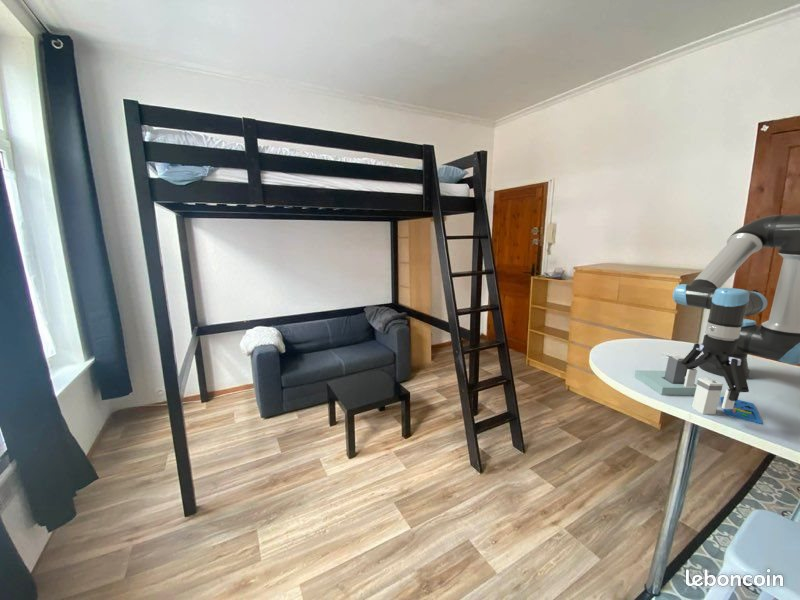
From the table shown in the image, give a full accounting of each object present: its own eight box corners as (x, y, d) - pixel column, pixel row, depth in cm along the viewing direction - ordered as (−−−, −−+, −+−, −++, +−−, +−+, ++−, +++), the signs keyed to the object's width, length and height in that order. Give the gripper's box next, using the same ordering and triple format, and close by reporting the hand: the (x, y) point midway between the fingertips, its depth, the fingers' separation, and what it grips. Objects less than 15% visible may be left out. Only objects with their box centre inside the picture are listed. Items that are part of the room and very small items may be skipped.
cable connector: (691, 407, 105) (698, 376, 103) (703, 407, 105) (711, 376, 102) (702, 414, 101) (710, 382, 99) (715, 414, 101) (723, 382, 98)
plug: (673, 385, 120) (679, 355, 117) (682, 390, 116) (689, 359, 113) (662, 385, 120) (669, 355, 117) (671, 390, 116) (677, 359, 113)
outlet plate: (668, 377, 126) (670, 370, 125) (700, 395, 113) (702, 387, 112) (634, 377, 127) (635, 370, 126) (661, 394, 113) (662, 387, 112)
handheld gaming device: (753, 402, 106) (763, 422, 95) (752, 405, 107) (762, 425, 96) (719, 394, 112) (725, 412, 101) (719, 397, 112) (724, 415, 101)
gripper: (675, 324, 110) (664, 378, 115) (751, 352, 85) (733, 419, 90) (697, 324, 109) (685, 378, 114) (779, 352, 85) (759, 419, 90)
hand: (706, 396), depth 102 cm, fingers open, 13 cm apart
